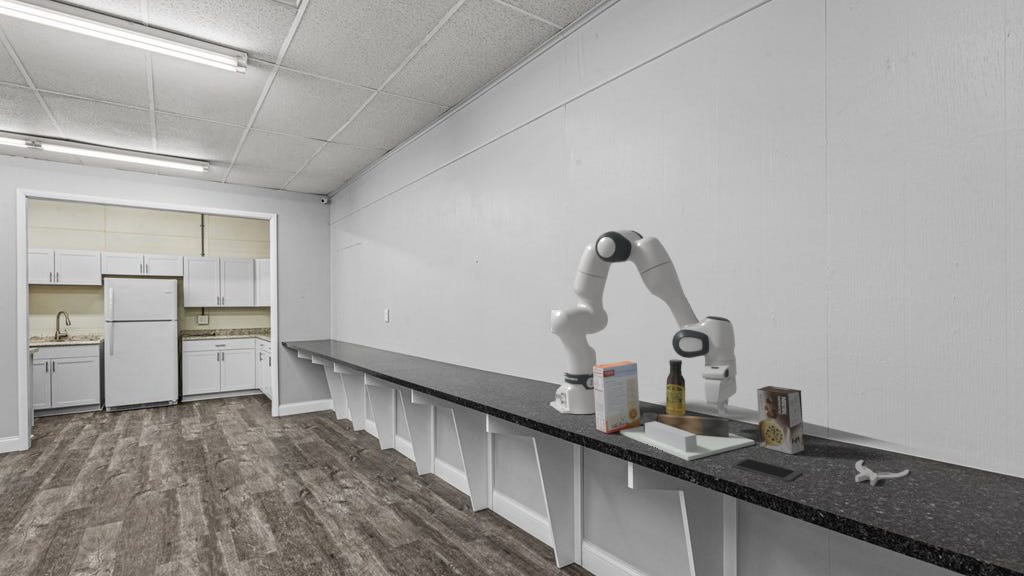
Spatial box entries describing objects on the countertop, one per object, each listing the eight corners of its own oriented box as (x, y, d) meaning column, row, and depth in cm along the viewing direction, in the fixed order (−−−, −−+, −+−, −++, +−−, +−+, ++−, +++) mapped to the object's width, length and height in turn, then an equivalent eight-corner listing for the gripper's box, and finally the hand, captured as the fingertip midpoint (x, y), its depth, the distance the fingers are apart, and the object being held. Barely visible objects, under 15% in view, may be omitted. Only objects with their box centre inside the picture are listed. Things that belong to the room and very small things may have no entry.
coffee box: (805, 450, 130) (802, 390, 130) (791, 455, 126) (788, 393, 126) (772, 441, 137) (769, 385, 137) (758, 446, 134) (756, 388, 134)
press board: (620, 433, 151) (619, 417, 151) (680, 421, 161) (680, 406, 161) (688, 460, 125) (687, 441, 125) (754, 444, 136) (753, 426, 136)
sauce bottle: (664, 419, 165) (661, 360, 165) (669, 414, 170) (667, 358, 170) (683, 421, 161) (681, 361, 161) (688, 416, 167) (686, 359, 167)
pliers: (910, 466, 113) (891, 484, 103) (910, 473, 113) (891, 492, 103) (859, 456, 120) (838, 472, 111) (860, 462, 120) (838, 479, 111)
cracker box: (628, 422, 162) (626, 360, 162) (641, 427, 157) (638, 362, 157) (594, 429, 156) (592, 364, 156) (606, 434, 151) (603, 367, 151)
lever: (642, 430, 148) (641, 415, 148) (645, 426, 152) (644, 412, 152) (728, 437, 138) (728, 421, 138) (729, 433, 142) (728, 417, 142)
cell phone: (789, 484, 110) (789, 480, 110) (730, 467, 121) (730, 464, 121) (803, 475, 114) (803, 472, 114) (744, 460, 125) (744, 457, 125)
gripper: (719, 363, 160) (722, 405, 160) (699, 373, 144) (702, 419, 144) (740, 364, 156) (742, 407, 156) (722, 374, 140) (724, 422, 140)
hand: (723, 413), depth 150 cm, fingers closed
